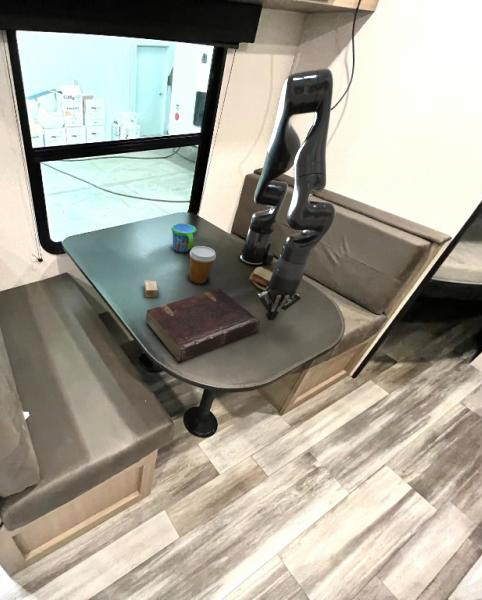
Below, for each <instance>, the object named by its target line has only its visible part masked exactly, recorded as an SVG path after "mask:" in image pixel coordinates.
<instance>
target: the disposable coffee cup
mask: <svg viewBox="0 0 482 600" xmlns="http://www.w3.org/2000/svg"><path fill="white" fill-rule="evenodd" d="M189 257H190V261H189V262H190V263H189V280H190V281H191V282H193V283H195V284H204V283H206V282H207V279H208V276H209V274H210V271H211V269H212V266H213V263H214V261H215V259H216V258H217V255H216V251H215V250H214V249H213V248H211V247H208V246H203V245H202V246H201V245H196V246H193V248H192V249H190V250H189Z"/></svg>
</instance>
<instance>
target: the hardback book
mask: <svg viewBox="0 0 482 600" xmlns="http://www.w3.org/2000/svg"><path fill="white" fill-rule="evenodd" d="M260 322H261V321H260V319H259V318H258V317H256V316H255V315H253V314H252V313H251V312H249V310H247V309H246V308H245V307H243V306H242V305H241V304H240V303H239V302H237V301H236V300H235V299H234V298H232V297H231V296H230V295H229V294H227V293H226V292H225V291H224V290H222V289H221V288H220V287H219V288H216V289H213V290H209V291H206V292H202V293H200V294H195V295H193V296H190V297H186V298H182V299H180V300H176V301H173V302H169V303H166V304H162V305H159V306H156V307H152V308H149V309H147V310H146V318H145V323H147V324H148V326H149V327H150V328H151V329H152V331H153V333H155V335H157V337H158V338H159V339H160V340H161V342H162V343H163V344H164V345H165V347H166V348H167V349H168V350H169V351H170V353H171V354H172V355H173V356H174V357H175V359H176V360H177V361H178V362H182V361H185V360H188V359H190V358H193V357H195V356H197V355H200V354H203V353H205V352H208V351H210V350H213V349H217V348H218V347H220V346H223V345H226V344H228V343H231V342H234V341H236V340H238V339H242V338H244V337H246V336H249V335H251V334H254V333H256V332H257V331H258V329H259V326H260Z"/></svg>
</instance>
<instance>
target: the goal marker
mask: <svg viewBox="0 0 482 600" xmlns="http://www.w3.org/2000/svg"><path fill="white" fill-rule="evenodd" d="M143 287H144V295H145V298H158V293H159V292H158V291H159V289H158V285H157V281H156V280H144V286H143Z"/></svg>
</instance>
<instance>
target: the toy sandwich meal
mask: <svg viewBox="0 0 482 600" xmlns="http://www.w3.org/2000/svg"><path fill="white" fill-rule="evenodd" d="M272 274H273V271H272V270H270V269H269V268H264V267H262V266H257V267H256V268H254V270H253V272H252V273H251V274H250V275H249V281H251V282H252V283H253V284H254V285H255V287H256V288H258V289H259V290H260V291H263V292H265V291H266V289H267V288H268V287H269V284H270V279H271V277H272Z"/></svg>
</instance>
